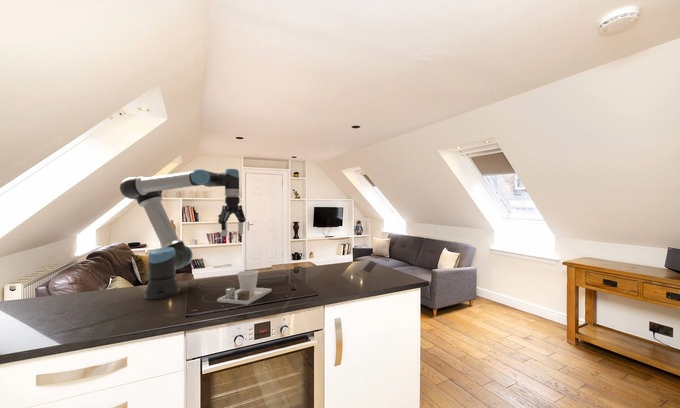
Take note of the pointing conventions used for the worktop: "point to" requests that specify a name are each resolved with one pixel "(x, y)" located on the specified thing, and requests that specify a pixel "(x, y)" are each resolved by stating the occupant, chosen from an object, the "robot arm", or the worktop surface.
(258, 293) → the tray
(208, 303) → the worktop surface
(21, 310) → the worktop surface
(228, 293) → the metal spacer
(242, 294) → the walnut block
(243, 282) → the cup
